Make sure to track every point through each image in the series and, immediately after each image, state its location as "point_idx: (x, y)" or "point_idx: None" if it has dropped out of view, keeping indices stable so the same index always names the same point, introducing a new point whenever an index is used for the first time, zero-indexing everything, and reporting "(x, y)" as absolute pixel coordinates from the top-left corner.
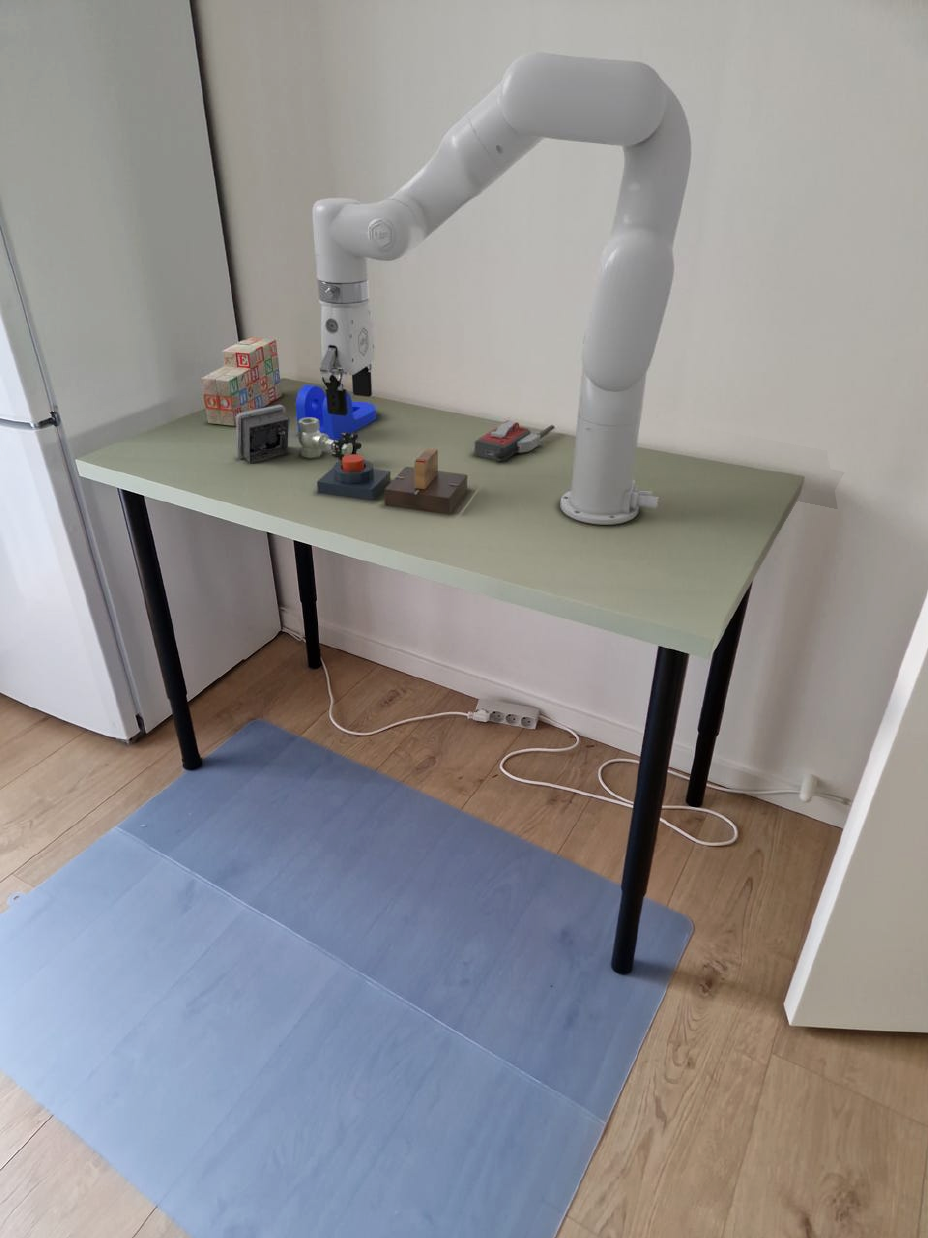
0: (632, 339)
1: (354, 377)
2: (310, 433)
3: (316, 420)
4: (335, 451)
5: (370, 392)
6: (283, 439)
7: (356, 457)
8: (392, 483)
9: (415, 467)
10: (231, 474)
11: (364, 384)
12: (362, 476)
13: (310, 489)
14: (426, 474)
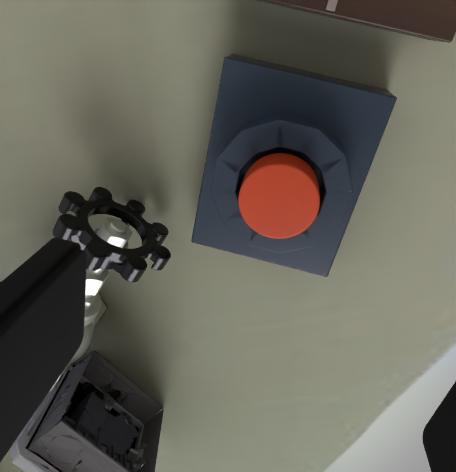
0: None
1: (14, 425)
2: None
3: None
4: (157, 262)
5: (66, 254)
6: (70, 380)
7: (270, 191)
8: (394, 15)
9: None
10: (226, 429)
11: (41, 327)
12: (341, 147)
13: (297, 278)
14: None
